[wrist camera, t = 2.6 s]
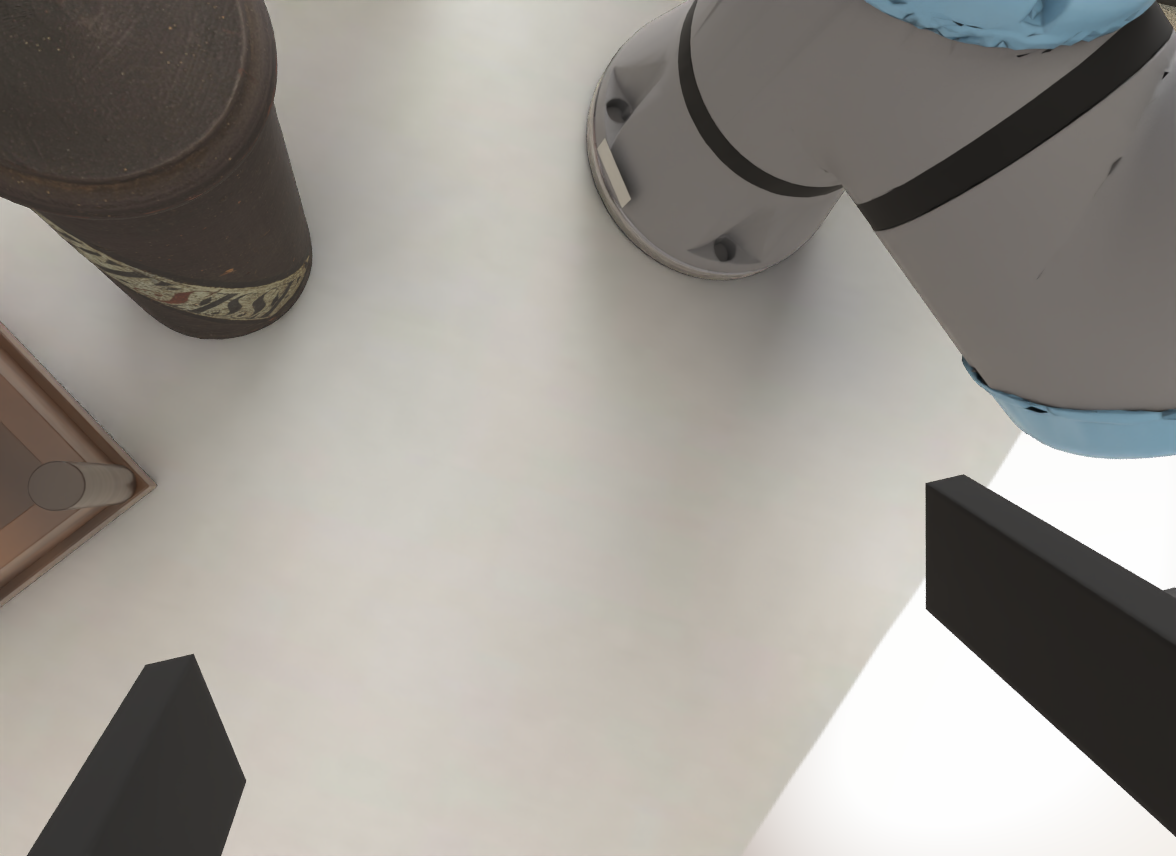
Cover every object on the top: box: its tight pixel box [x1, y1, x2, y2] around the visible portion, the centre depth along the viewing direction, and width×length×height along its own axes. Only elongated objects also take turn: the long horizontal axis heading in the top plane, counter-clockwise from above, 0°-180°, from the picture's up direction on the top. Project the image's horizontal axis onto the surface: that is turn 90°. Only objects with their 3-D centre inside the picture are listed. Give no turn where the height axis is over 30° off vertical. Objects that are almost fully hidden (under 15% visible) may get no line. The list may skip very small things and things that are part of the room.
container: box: [0, 0, 312, 339], centre depth 27 cm, size 9×9×20 cm
